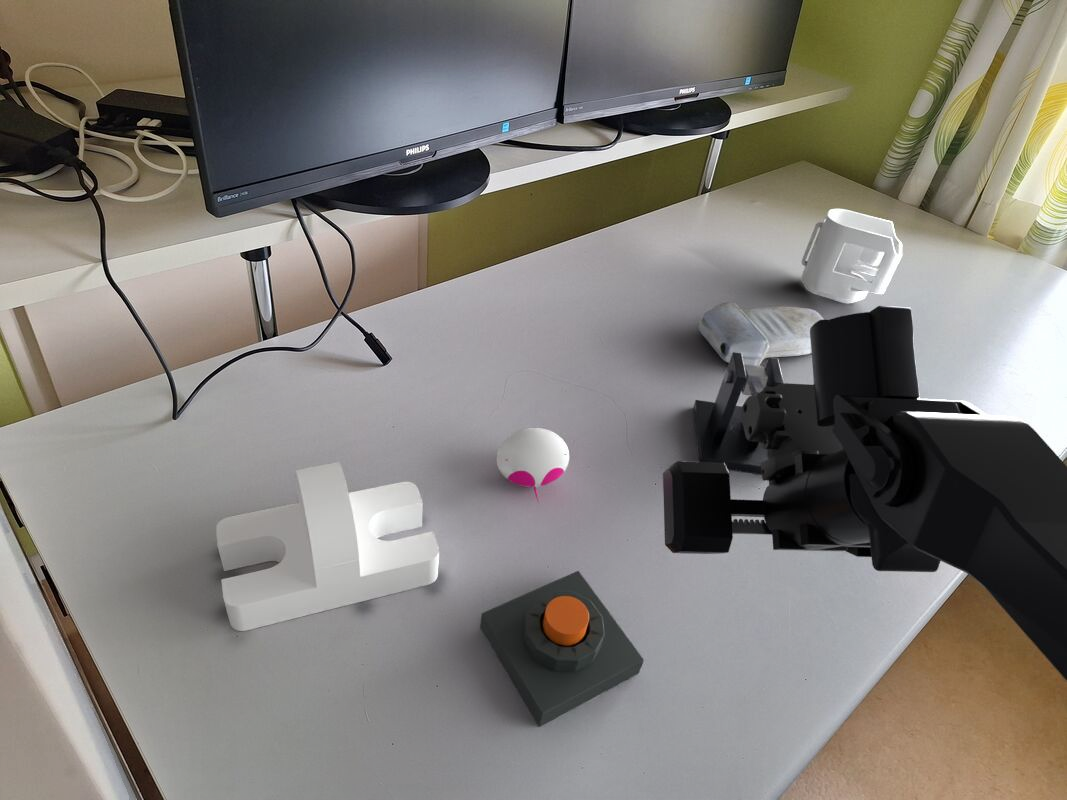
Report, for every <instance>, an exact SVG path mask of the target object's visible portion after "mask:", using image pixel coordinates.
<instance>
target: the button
mask: <svg viewBox="0 0 1067 800" xmlns="http://www.w3.org/2000/svg"><path fill="white" fill-rule="evenodd" d="M588 622H589V613H588V610H587V608H586V607H585V605H584V604H583V603H582V602H581V601H579V600H578V599H576V598H573V597H570V596H560V597H557V598H555V599H553V600H552V601H550V602H549V604H548V605H547V607H546V610H545V615H544V620H543V629H544V632H545V634H546V636H547V637H548V638H549V639H550V640H551V641H552V642H554V643H556V644H558V645H562V646H571V645H574V644H577V643H578V642H580V641H581V640H582V639H583V637H584V635H585V632H586V629H587V625H588Z"/></svg>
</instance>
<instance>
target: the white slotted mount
mask: <svg viewBox="0 0 1067 800" xmlns="http://www.w3.org/2000/svg"><path fill="white" fill-rule="evenodd" d="M294 475H295V483H296V491H297V499H298V502H295V503H291V504H286V505H282V506H280V505H279V506H277V507H276V506H275V507H270V508H267V509H262V510H256V511H251V512H247V513H242V514H237V515H231V516H227V517H225V518H222V519H221V520H220V521H219V522H218V523H217V524H216V527H215V534H216V544H217V548H218V553H219V556H220V560H221V564H222V568H223V571H224V572H228V571H232V570H236V569H240V568H245V567H249V566H254V565H258V564H264V563H268V562H277V563H278V564H275V565H274V566H272V567H269V568H266V569H262V570H256V571H251V572H248V573H244V574H239V575H235V576H230V577H226V578H221V582H220V583H221V590H222V598H223V602H224V605H225V610H226V613H227V617H228V621H229V625H230V626H231V628H232V629H233V630H235V631H237V632H246V631H247V632H248V631H250V630H254V629H258V628H262V627H267V626H270V625H274V624H279V623H282V622H287V621H290V620H294V619H298V618H301V617H306V616H310V615H314V614H318V613H323V612H327V611H329V610H334V609H337V608H341V607H347V606H350V605H355V604H358V603H361V602H362V603H363V602H366V601H369V600H373V599H378V598H381V597H382V598H383V597H386V596H389V595H390V596H391V595H394V594H397V593H401V592H405V591H410V590H413V589H417V588H421V587H425V586H429V585H432V584H433V583H435V582H436V580H437V579H438V576H439V562H440V561H439V560H440V546H439V544H438V541H437V538H436V535H435V532H434V531H428V532H423V533H420V534H415V535H411V536H406V537H401V538H398V539H393V540H392V539H391V540H384V539H380V538H381V537H384V536H389V535H393V534H397V533H402V532H406V531H410V530H414V529H419V528H423V507H424V506H423V505H424V503H423V500H422V496H421V494H420V491H419V488H418V486H417V485H416V484H415V483H413V482H410V481H400V482H395V483H391V484H386V485H381V486H380V485H379V486H376V487H375V486H374V487H371V488H370V487H369V488H366V489H361V490H355V491H351V492H349V489H348V484H347V481H346V477H345V473H344V470H343V467H342V464H341V462H339V461H337V462H331V463H326V464H320V465H315V466H309V467H304V468H299V469H295V472H294Z"/></svg>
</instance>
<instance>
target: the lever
mask: <svg viewBox="0 0 1067 800" xmlns="http://www.w3.org/2000/svg"><path fill="white" fill-rule="evenodd" d="M744 368H745V374H746V381H745V383H744V386H743V388H742V391H741V394H742V395H745V396H746V395H747V396H752V395H753V393H754V392H761V391H762V390H763V389H764V387H766V384H767V381H768V376H767V374H766V372H765V367H764V366H760V365H759V366H755V365H748V364H744ZM767 456H768V459H770V453H769V450H768V449H767Z"/></svg>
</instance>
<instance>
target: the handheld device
mask: <svg viewBox="0 0 1067 800" xmlns="http://www.w3.org/2000/svg"><path fill="white" fill-rule="evenodd" d="M819 320H825V319H824V317H823V316H822V315H821V314H820V312H819V313H818V312H817V311H816V310H814V309H812V308H805V307H799V306H798V307H797V306H767V307H758V308H751V309H750V308H749V309H742V308H741V307H739V306H738V305H737V304H736V303H735V302H734V301H732V302H730V301H729V302H724V303H721V304H719V305H716V306H715V307H713V308H711V309H709V310H708V311H705V312H704V314H703V315H702V316H701V320H700V322H699V326H698V330H699V332H700V334H701V335H702V336H703V337H704V338H705V340H706V341H707V342H708V343H709V344H710V346H711V347H712V348H713V350H715V353H717V354H718V355H719V357H720V358H721V359H722V360H723V361H724V362H726V363H727V364H729V362H730V359H731V356H732V353H733V352H736V353H742V358H743V363H744V364H748V365H755V366H760V365H762V362H763V361H764V360H765V359H769V357H770V358H782V357H785V358H786V357H794V356H797V357H798V356H804V355H810V354H812V353H811V341H810V328H811V327H812V326H813V324H815V323H816V322H818V321H819Z"/></svg>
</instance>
